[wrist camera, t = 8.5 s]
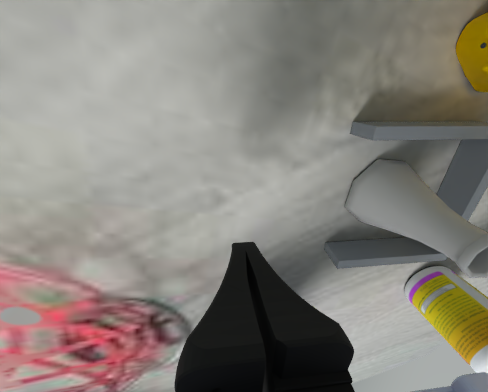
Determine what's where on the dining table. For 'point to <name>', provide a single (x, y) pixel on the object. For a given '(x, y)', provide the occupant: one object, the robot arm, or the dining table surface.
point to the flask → (417, 214)
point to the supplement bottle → (453, 312)
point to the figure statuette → (475, 52)
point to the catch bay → (451, 193)
